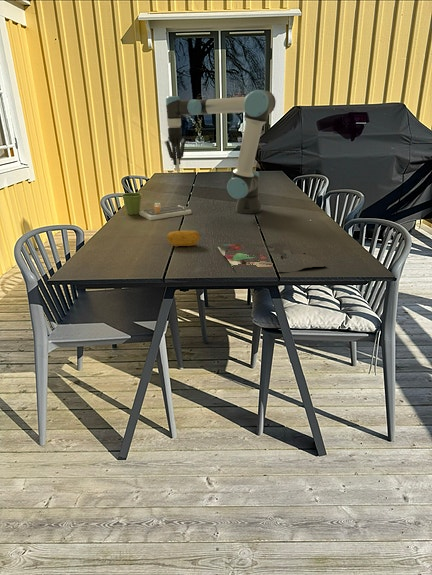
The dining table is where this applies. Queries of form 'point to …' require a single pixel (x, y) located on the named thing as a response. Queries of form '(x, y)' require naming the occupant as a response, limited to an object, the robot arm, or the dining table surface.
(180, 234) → the potato
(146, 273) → the dining table surface
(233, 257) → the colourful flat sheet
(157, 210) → the fader knob
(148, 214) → the fader panel
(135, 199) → the plant pot
